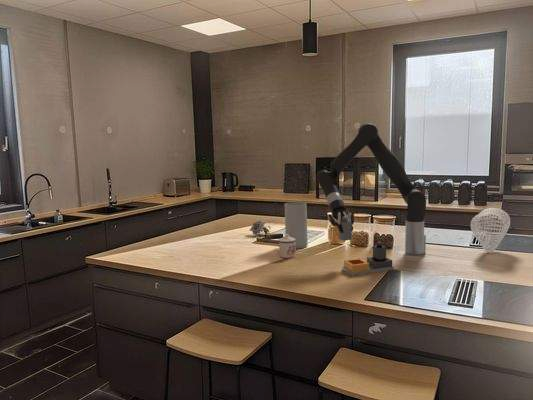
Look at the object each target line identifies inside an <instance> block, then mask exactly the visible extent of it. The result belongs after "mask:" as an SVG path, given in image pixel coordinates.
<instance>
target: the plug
mask: <svg viewBox="0 0 533 400" xmlns="http://www.w3.org/2000/svg"><path fill="white" fill-rule="evenodd" d="M348 217H349V216H348ZM348 217H347V216H344V217H342V220H340V223H341V224H340V225H341V226H342V228H343V233H341V232H339V231H338V235H339V237H338V238H339V239H340V240H341V241H344V242H345V241H351V240H352V239H353V238H352V236H353V235H352V233H353V231H351V221H349V220H348Z"/></svg>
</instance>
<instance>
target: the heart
mask: <svg viewBox="0 0 533 400" xmlns="http://www.w3.org/2000/svg"><path fill="white" fill-rule="evenodd" d="M510 226H511V217H510V215H509V214H508V212H506V211H505V210H503V209H501V208H498V207H489V208H486V209H485V208H484V209H482V210H481V211H480V212H479V213H478V214H475V216H474V217H472V219H471V221H470V229H471V232H472V235H473V236H474V238H476V240H477V241H478V243H479V244H480V245H481V247H482V249H484V251H485V252H486V253H487V254H491V253H493V252H494V251H495V250H496V249H497V248H498V246H499V245H500V243H501V242H502V240H503V239H504V237H505V236H506V234H507V232H508V230H509V229H510Z"/></svg>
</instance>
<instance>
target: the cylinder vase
mask: <svg viewBox="0 0 533 400" xmlns="http://www.w3.org/2000/svg"><path fill="white" fill-rule="evenodd" d="M284 228H285V229H284V230H285V235H286V234H288V235H289V236H290V237H292V238H295V240H296V247H295V250H301V249H305V248H307V247H308V245H309V244H308V243H309V242H308V210H307V203H306V202H302V201H294V202H293V201H292V202H291V201H290V202H286V203H284Z"/></svg>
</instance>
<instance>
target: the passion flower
mask: <svg viewBox="0 0 533 400" xmlns="http://www.w3.org/2000/svg"><path fill="white" fill-rule="evenodd" d="M265 224H266V222H263V223H262V220H261V219H259V221H255V222H253V223H252V226H251V227H250V229H249V230H248V231H249V232H252V235H254V237H256V236H257V235H258V236H259V235H260V234H261V233H262V234H264V235H265V234H270V229H271V226H270V225H267V226H265ZM267 227H268V228H269V229H268V228H267Z"/></svg>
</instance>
